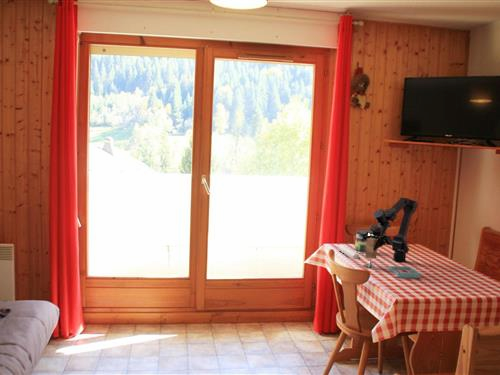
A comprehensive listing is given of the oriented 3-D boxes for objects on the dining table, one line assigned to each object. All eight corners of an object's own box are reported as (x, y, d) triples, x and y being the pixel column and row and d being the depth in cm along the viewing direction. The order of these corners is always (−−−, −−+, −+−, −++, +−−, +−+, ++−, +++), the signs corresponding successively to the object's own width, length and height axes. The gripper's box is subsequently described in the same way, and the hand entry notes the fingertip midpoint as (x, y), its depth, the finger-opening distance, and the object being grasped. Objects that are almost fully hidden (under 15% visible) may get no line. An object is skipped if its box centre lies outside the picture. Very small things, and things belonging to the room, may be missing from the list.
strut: (369, 256, 297) (371, 237, 296) (376, 257, 294) (377, 239, 293) (365, 257, 294) (366, 238, 293) (372, 258, 291) (373, 240, 290)
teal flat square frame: (409, 271, 294) (410, 266, 294) (420, 278, 281) (420, 273, 281) (388, 271, 292) (388, 266, 292) (397, 278, 279) (398, 272, 279)
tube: (362, 255, 312) (346, 245, 337) (354, 252, 311) (339, 242, 335) (358, 263, 313) (343, 252, 337) (351, 260, 311) (336, 250, 336)
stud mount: (373, 267, 299) (374, 260, 298) (377, 271, 292) (378, 263, 291) (361, 267, 298) (362, 260, 297) (366, 271, 291) (366, 263, 290)
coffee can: (361, 254, 331) (362, 232, 329) (351, 250, 340) (353, 229, 339) (373, 253, 335) (375, 232, 334) (364, 249, 345) (365, 229, 343)
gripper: (363, 217, 301) (351, 237, 294) (391, 222, 288) (380, 243, 281) (369, 228, 307) (358, 249, 301) (397, 234, 294) (386, 255, 288)
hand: (370, 249), depth 292 cm, fingers closed on strut, 4 cm apart
